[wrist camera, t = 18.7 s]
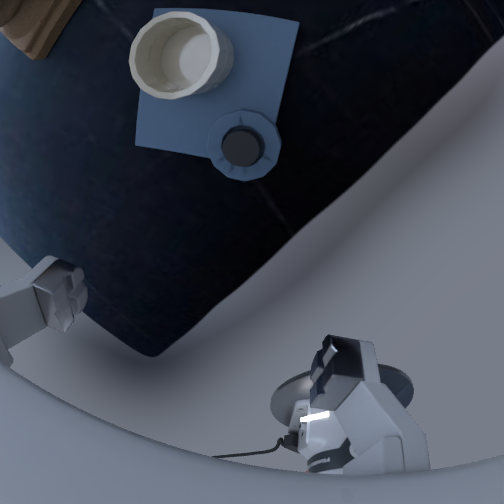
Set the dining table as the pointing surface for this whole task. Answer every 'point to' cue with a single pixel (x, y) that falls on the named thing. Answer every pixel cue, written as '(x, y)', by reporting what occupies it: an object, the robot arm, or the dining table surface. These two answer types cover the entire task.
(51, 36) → the candle holder
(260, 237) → the dining table surface
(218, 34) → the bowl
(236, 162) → the button
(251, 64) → the scale
